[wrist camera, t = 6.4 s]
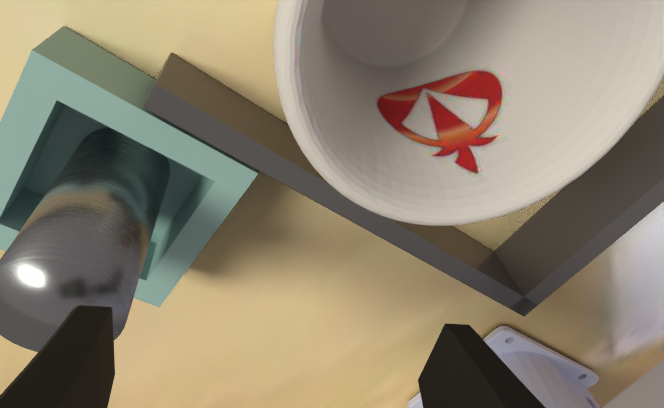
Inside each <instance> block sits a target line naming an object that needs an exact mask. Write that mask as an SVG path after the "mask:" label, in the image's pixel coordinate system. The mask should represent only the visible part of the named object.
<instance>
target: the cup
mask: <svg viewBox="0 0 664 408" xmlns="http://www.w3.org/2000/svg"><path fill="white" fill-rule="evenodd" d="M273 48H274V67H275V75H276V83H277V88H278V92H279V96H280V101H281V105H282V108H283V111H284V114H285V117H286V120H287V122H288V125H289V127H290V129H291V131H292V134H293V136H294V138H295V140H296V141H297V143H298V145H299V147H300V148H301V150H302V152H303V153H304V155H305V156H306V157H307V159H308V160H309V162H310V163H311V164H312V166H313V167H314V168H315V169H316V170H317V171H318V173H319V174H320V175H321V176H322V177H323V178H324V179H325V180H326V181H327V182H328V183H329V184H330V185H331V186H332V187H334V188H335V189H336V190H337V191H338V192H340V193H341V194H342V195H344V196H345V197H347V198H348V199H350V200H351V201H353V202H354V203H356V204H358V205H360V206H362V207H364V208H366V209H367V210H369V211H372V212H374V213H376V214H379V215H381V216H384V217H387V218H391V219H394V220H397V221H402V222H407V223H412V224H419V225H429V226H453V225H464V224H470V223H476V222H482V221H486V220H490V219H494V218H498V217H502V216H505V215H507V214H510V213H513V212H516V211H518V210H521V209H524V208H526V207H528V206H530V205H532V204H534V203H536V202H538V201H540V200H542V199H544V198H547V197H549V196H550V195H552V194H553V193H555V192H557V191H558V190H560V189H561V188H563V187H564V186H566V185H567V184H569V183H570V182H572V181H573V180H575V179H577V178H578V177H579V176H581V175H582V174H583V173H584V172H585V171H587V170H588V169H589V168H590V167H591V166H593V165H594V164H595V163H596V162H597V161H598V160H600V159H601V158H602V157H603V156H604V155H605V154H606V153H608V151H609V150H610V149H611V148H612V147H613V146H614V145H615V144H616V143H617V142H618V141H619V140H620V138H621V137H622V136H623V135H624V134H625V133H626V132H627V131H628V129H629V128H630V127H631V126H632V125H633V124H634V122H635V121H636V120H637V118H638V117H639V115H640V114H641V113H642V111H643V110H644V108H645V107H646V105H647V104H648V102H649V101H650V99H651V98H652V96H653V95H654V94H655V92H656V90H657V88H658V87H659V85H660V83H661V81H662V79H663V77H664V0H278V2H277V7H276V15H275V23H274V41H273Z"/></svg>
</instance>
